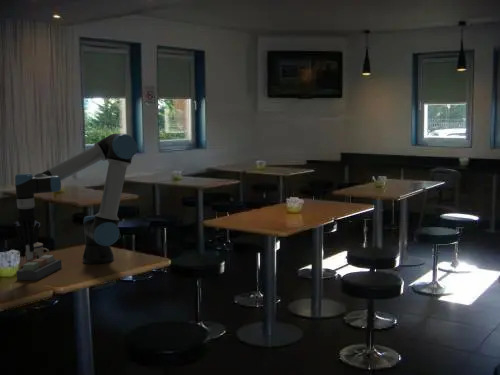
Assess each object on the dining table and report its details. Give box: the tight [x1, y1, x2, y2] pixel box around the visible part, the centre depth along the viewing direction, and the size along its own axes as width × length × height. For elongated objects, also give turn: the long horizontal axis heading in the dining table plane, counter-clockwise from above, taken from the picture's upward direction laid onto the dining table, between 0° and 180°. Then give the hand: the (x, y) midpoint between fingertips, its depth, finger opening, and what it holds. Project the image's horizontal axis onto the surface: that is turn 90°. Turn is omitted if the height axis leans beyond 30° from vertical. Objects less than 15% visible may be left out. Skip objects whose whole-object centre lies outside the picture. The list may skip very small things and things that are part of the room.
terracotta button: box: [32, 259, 47, 267], centre depth 295 cm, size 5×5×4 cm
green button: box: [22, 262, 39, 271], centre depth 288 cm, size 5×5×4 cm
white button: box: [40, 254, 55, 263], centre depth 302 cm, size 5×5×4 cm
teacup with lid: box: [24, 242, 50, 264], centre depth 317 cm, size 12×9×12 cm
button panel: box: [16, 259, 62, 281], centre depth 295 cm, size 10×22×4 cm, turn 168°
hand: (29, 258), depth 288 cm, fingers closed
